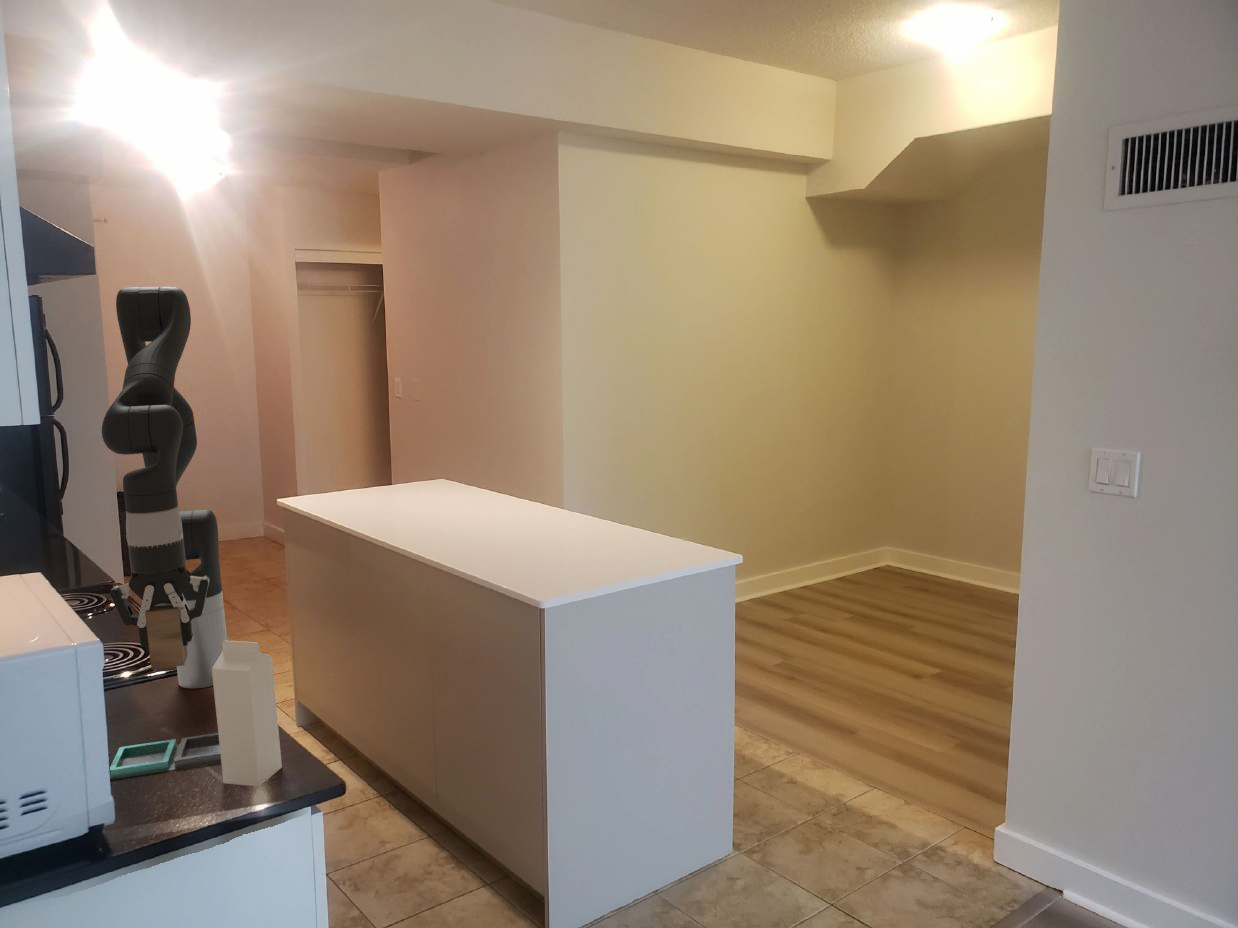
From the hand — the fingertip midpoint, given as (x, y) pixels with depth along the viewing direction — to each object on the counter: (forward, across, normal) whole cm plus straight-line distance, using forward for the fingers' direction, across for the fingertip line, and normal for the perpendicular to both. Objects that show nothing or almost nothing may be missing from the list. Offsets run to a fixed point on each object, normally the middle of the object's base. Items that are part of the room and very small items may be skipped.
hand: (167, 645), depth 142 cm
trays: (+19, 0, 0) cm, 19 cm away
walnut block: (+3, 0, 0) cm, 3 cm away
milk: (+19, -11, +11) cm, 25 cm away
